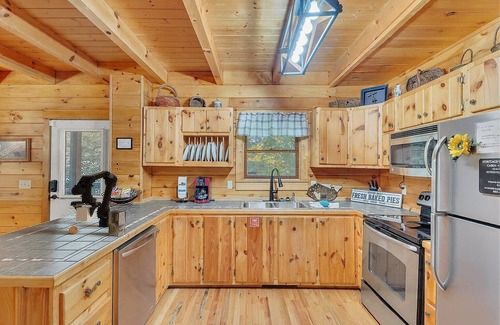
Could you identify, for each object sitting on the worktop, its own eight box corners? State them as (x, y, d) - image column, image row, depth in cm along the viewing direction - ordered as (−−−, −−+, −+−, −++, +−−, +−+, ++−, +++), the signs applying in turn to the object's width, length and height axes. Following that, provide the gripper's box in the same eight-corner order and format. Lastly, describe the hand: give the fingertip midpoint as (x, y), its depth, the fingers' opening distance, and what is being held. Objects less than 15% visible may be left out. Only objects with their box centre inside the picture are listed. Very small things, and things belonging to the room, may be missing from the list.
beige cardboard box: (94, 219, 185) (94, 206, 185) (87, 221, 177) (87, 208, 177) (83, 218, 185) (84, 206, 185) (75, 220, 177) (76, 207, 177)
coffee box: (125, 234, 182) (126, 211, 182) (118, 236, 176) (119, 212, 176) (115, 232, 185) (116, 209, 185) (107, 234, 179) (108, 211, 179)
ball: (79, 232, 181) (79, 225, 181) (74, 234, 176) (74, 227, 176) (71, 232, 181) (72, 225, 181) (66, 234, 176) (67, 227, 176)
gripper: (106, 193, 189) (105, 214, 189) (81, 191, 190) (80, 213, 189) (96, 194, 178) (95, 217, 177) (70, 193, 178) (69, 216, 178)
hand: (85, 216), depth 181 cm, fingers closed on beige cardboard box, 8 cm apart
